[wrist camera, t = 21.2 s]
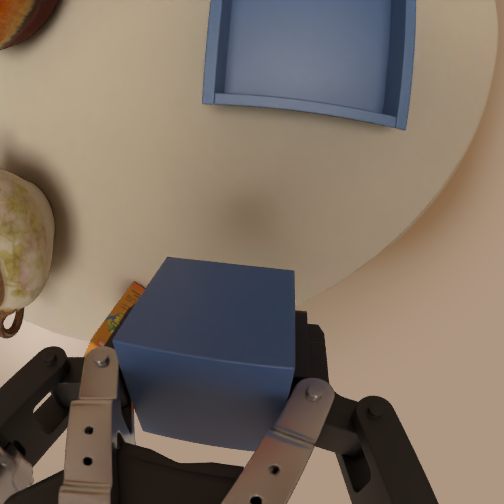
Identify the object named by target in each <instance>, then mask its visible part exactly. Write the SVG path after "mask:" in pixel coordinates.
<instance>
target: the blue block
mask: <svg viewBox="0 0 504 504" xmlns="http://www.w3.org/2000/svg"><path fill="white" fill-rule="evenodd" d="M113 345H114V348H115V352H116V355H117V358H118V362H119V365H120V368H121V371H122V374H123V377H124V380H125V383H126V386H127V389H128V392H129V395H130V398H131V401H132V403H133V406H134V409H135V412H136V414H137V417H138V419H139V422H140V424H141V427H142V429H143V431H145V432H149V433H153V434H157V435H161V436H165V437H170V438H175V439H179V440H184V441H189V442H194V443H199V444H205V445H211V446H217V447H224V448H231V449H238V450H246V451H255V450H256V449H257V447H258V446H259V444H260V442H261V441H262V439H263V437H264V436H265V434H266V432H267V431H268V430H269V429H270V428H272V427H273V426H274V424H275V423H276V421H277V419H278V417H279V415H280V414H281V412H282V410H283V408H284V406H285V405H286V403H287V400H288V396H289V392H290V388H291V384H292V380H293V375H294V371H295V276H294V271H293V270H284V269H274V268H265V267H255V266H246V265H236V264H227V263H218V262H209V261H200V260H191V259H182V258H173V257H167V258H166V260H165V261H164V262H163V264H162V265H161V267H160V268H159V270H158V271H157V273H156V274H155V276H154V277H153V278H152V280H151V281H150V283H149V284H148V286H147V287H146V289H145V290H144V292H143V293H142V295H141V296H140V298H139V299H138V301H137V302H136V304H135V305H134V307H133V308H132V310H131V312H130V313H129V315H128V316H127V318H126V319H125V321H124V322H123V324H122V325H121V327H120V329H119V330H118V332H117V333H116V335H115V337H114V338H113Z"/></svg>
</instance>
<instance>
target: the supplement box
mask: <svg viewBox="0 0 504 504" xmlns="http://www.w3.org/2000/svg"><path fill="white" fill-rule="evenodd" d="M144 290H145V288H143V287H141V286H140V285H138V284H137V283H135V282H133V283H132V285H131V286H130V287H129V289H128V290H127V291H126V293H125V294H124V295H123V296H122V298H121V299H120V300H119V302H118V303H117V304H116V306H115V307H114V308H113V310H112V311H111V313H110V314H109V315H108V317H107V318H106V319H105V321H104V322H103V324H102V325H101V326H100V328H99V329H98V331H97V332H96V333H95V335H94V336H93V338H92V339H91V341H90V343H89V346H88V348H87V351H86V353H85V356H84V357H86V355H87V353H88V352H90V351H91V350H92V349H94V348H97V347H103V346H104V345H105V344H106V342H107V340H108V339H109V337H110V336H111V334H112V333H113V331H114V329H115V328H116V326H117V325H118V324H119V322H120V320H121V319H122V318H123V316H124V314H125V313H126V311H127V310H128V308H130V307H131V306H132V305H134V304H135V303H136V302H137V301H138V299H139V298H140V296H141V295H142V293H143V292H144Z"/></svg>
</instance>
